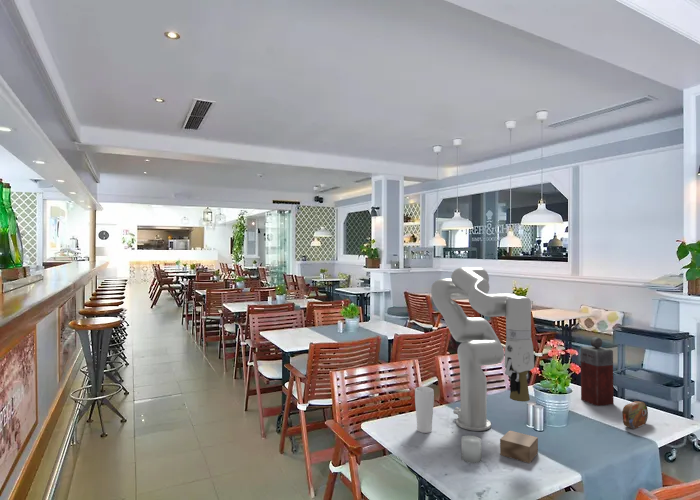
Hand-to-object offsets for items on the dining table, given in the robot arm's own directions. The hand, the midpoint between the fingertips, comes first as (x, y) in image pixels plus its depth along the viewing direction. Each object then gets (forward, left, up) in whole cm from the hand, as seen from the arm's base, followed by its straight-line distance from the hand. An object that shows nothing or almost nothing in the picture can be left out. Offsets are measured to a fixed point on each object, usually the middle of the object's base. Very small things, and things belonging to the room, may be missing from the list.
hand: (518, 391), depth 138 cm
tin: (+12, +57, -20) cm, 62 cm away
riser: (0, 0, -20) cm, 20 cm away
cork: (0, 0, -2) cm, 2 cm away
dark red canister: (-10, +74, -20) cm, 77 cm away
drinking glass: (-31, -11, -20) cm, 39 cm away
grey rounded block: (-7, -15, -20) cm, 26 cm away
